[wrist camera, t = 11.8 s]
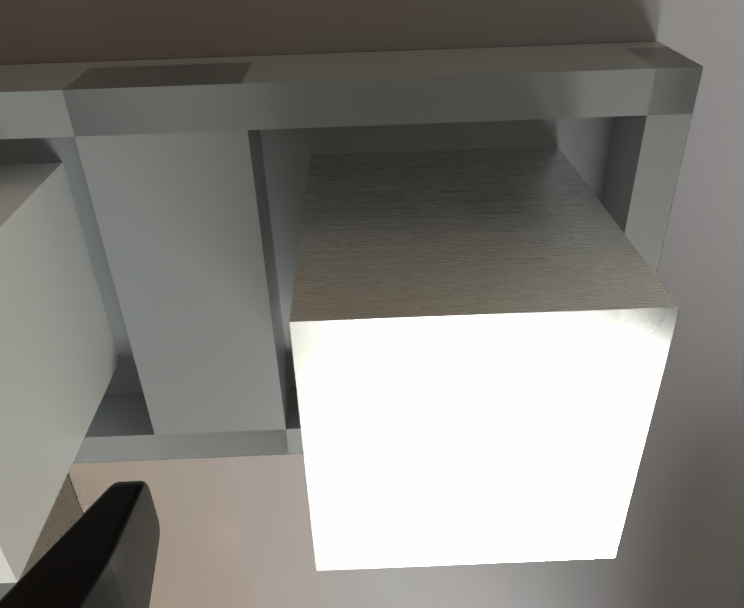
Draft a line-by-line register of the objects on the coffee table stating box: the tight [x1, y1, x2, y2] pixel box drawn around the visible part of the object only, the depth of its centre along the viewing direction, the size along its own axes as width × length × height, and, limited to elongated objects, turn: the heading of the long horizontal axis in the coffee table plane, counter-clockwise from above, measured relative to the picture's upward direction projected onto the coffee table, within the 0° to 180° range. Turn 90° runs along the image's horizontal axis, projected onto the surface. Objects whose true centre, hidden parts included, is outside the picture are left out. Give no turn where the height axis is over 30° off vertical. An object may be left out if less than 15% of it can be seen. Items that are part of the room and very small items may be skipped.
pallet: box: [0, 41, 703, 583], centre depth 13 cm, size 19×9×6 cm, turn 92°
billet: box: [289, 146, 680, 571], centre depth 13 cm, size 5×5×6 cm
